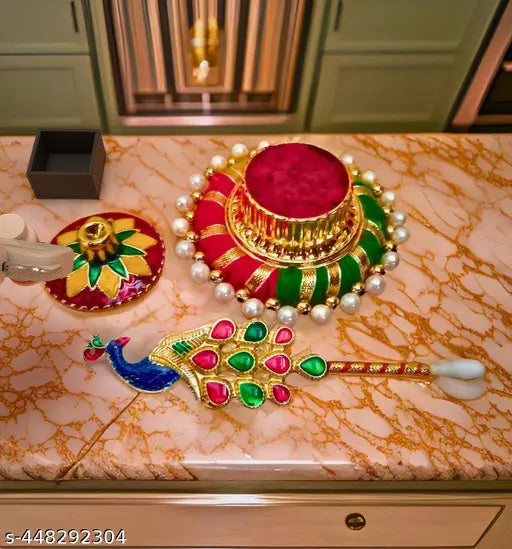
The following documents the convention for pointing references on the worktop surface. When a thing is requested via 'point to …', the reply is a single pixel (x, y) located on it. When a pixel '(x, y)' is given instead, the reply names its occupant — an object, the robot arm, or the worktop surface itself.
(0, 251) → the robot arm
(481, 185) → the worktop surface
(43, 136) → the trash bin
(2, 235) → the pill bottle
